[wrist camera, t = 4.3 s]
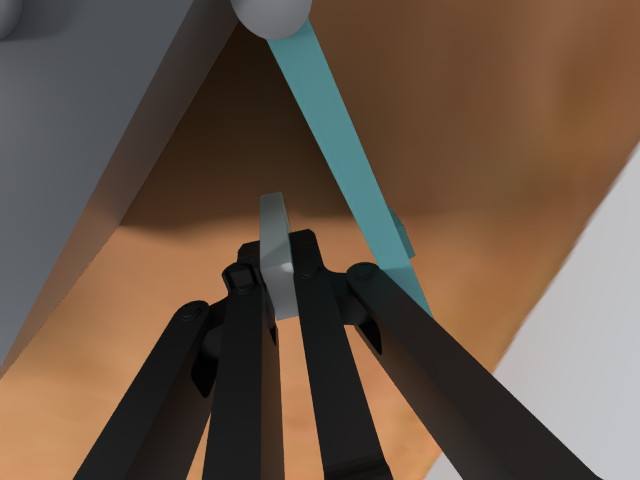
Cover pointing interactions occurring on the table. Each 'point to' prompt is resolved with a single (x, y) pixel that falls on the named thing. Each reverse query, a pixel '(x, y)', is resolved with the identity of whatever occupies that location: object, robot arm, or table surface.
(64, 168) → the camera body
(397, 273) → the teal flat slab
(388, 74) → the table surface
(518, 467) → the robot arm
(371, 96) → the table surface
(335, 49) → the table surface
